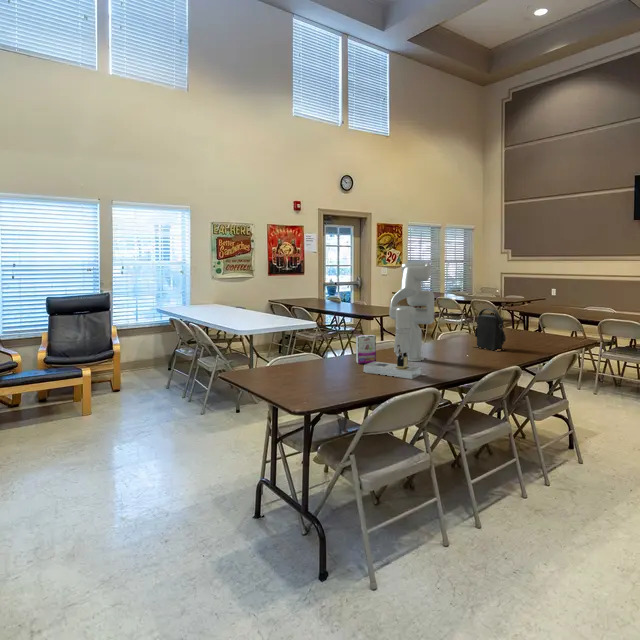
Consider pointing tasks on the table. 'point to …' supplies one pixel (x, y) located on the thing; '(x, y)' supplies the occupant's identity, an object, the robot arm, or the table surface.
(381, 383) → the table surface
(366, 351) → the candy bar box
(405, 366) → the peg
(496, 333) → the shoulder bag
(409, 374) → the white holder tray
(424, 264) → the robot arm
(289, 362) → the table surface
